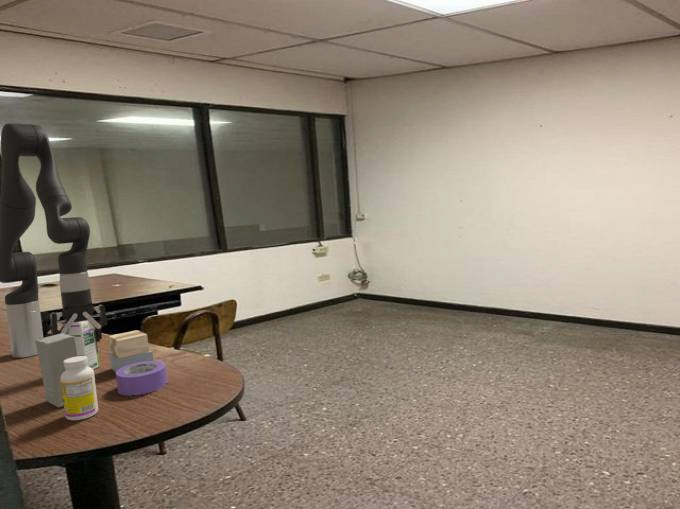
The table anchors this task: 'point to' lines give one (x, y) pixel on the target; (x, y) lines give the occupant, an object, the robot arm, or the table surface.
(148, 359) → the slate slab
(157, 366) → the tape roll
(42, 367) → the skincare box
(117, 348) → the maple block
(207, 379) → the table surface
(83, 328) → the syrup box
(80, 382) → the supplement bottle
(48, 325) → the webcam
